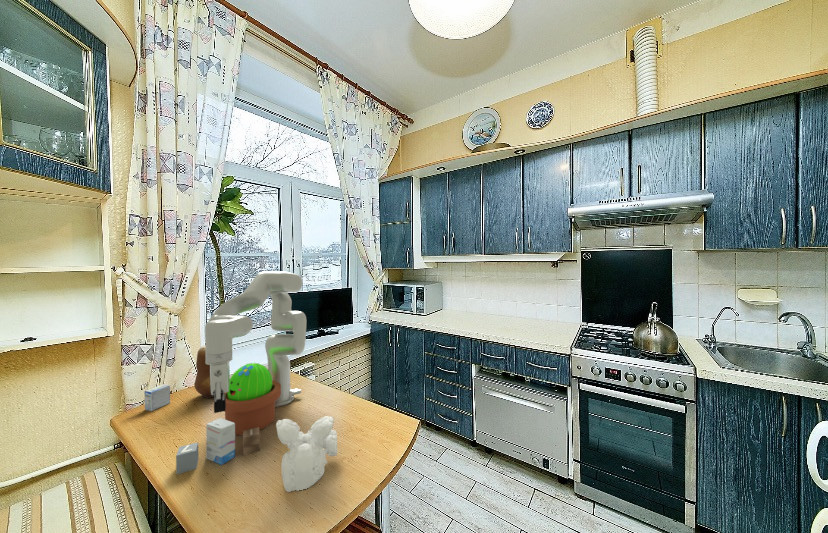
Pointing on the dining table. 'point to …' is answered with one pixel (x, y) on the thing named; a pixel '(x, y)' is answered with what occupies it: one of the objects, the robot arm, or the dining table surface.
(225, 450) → the ink box
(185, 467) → the slate block
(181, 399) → the dining table surface
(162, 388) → the medicine box
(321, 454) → the cauliflower
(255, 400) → the potted cactus
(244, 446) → the walnut block
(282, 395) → the robot arm
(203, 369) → the butternut squash
